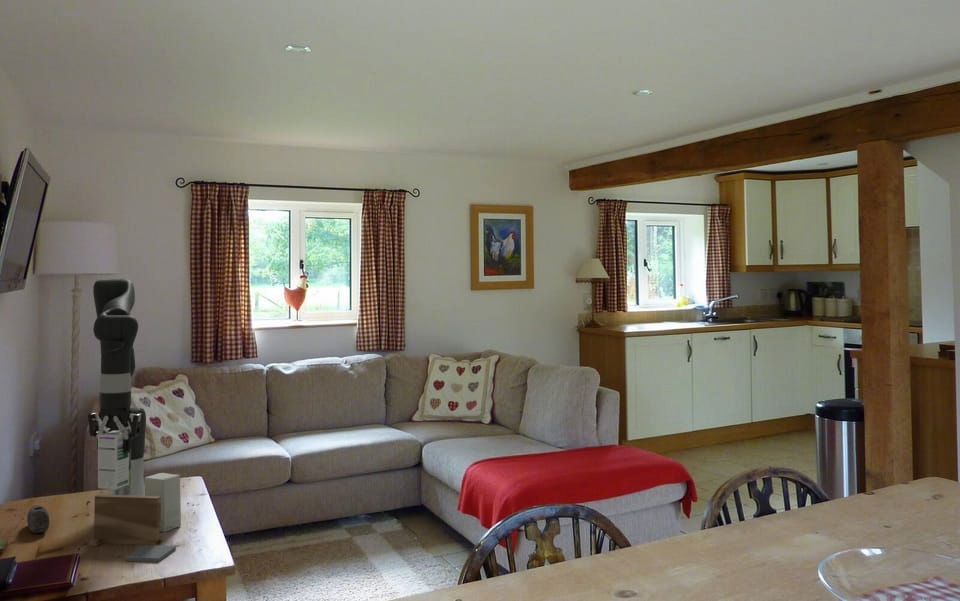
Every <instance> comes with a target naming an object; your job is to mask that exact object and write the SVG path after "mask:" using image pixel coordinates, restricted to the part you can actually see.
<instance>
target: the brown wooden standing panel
mask: <svg viewBox="0 0 960 601" xmlns="http://www.w3.org/2000/svg"><path fill="white" fill-rule="evenodd" d="M93 510H94V517H93V520H94V521H93V522H94V523H93V525H94V526H93V528H94V529H93V531H94V532H93V538H92V539H91V540H89V546H95V547H96V546H97V547H98V546H99V545H100V544H114V545H115V544H116V545H139V546H140V545H142V546H143V545H154V546H159V544H161V543H162V542H163V541H165V536H164V535H161V532H162V531H161V496H145V495H144V496H134V495H111V494H103V493H102V494H100V493H99V494H97V495H94V509H93Z"/></svg>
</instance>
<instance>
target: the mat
mask: <svg viewBox="0 0 960 601" xmlns="http://www.w3.org/2000/svg"><path fill="white" fill-rule="evenodd" d="M176 550H177V546H176V545H173V546H172V545H156V546H154V545H142V546H140V547H139V548H137V549H136V550H133V551H132V552H131V553H129V554H128V555H126V556H125V559H124V561H125V562H141V563H142V562H145V563H146V562H148V563H160V562H161V561H162V560H164V559H165V558H167V557H168V556H170V555H171V554H173V552H176Z"/></svg>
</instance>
